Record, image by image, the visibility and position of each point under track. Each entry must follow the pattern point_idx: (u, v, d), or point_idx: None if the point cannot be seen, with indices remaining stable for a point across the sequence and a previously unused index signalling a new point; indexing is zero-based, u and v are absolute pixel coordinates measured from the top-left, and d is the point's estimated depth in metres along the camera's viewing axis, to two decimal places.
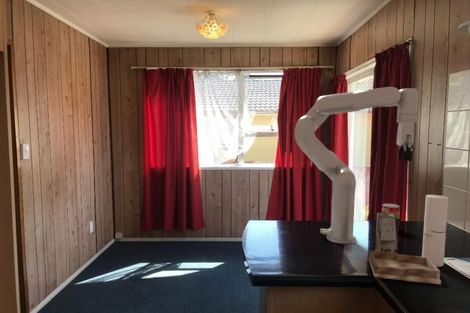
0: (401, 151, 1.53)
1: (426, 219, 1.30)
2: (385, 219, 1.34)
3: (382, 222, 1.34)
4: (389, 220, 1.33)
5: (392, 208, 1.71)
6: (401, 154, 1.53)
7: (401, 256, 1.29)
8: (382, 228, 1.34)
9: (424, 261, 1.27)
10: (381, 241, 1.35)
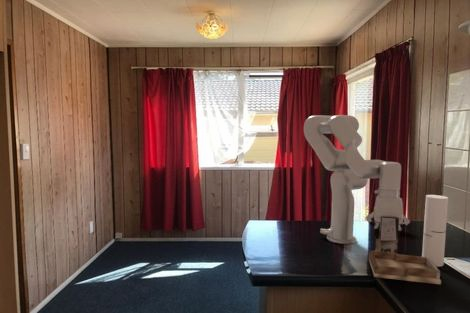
0: None
1: (426, 219, 1.30)
2: (385, 219, 1.34)
3: (382, 222, 1.34)
4: (389, 220, 1.33)
5: None
6: None
7: (401, 256, 1.29)
8: (382, 228, 1.34)
9: (424, 261, 1.27)
10: (381, 241, 1.35)
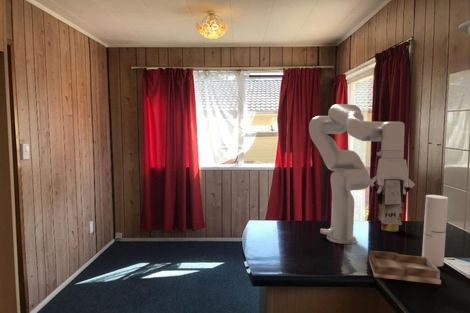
0: None
1: (426, 219, 1.30)
2: (389, 181, 1.26)
3: (386, 185, 1.26)
4: (393, 182, 1.25)
5: None
6: None
7: (401, 256, 1.29)
8: (386, 191, 1.26)
9: (424, 261, 1.27)
10: (385, 205, 1.26)
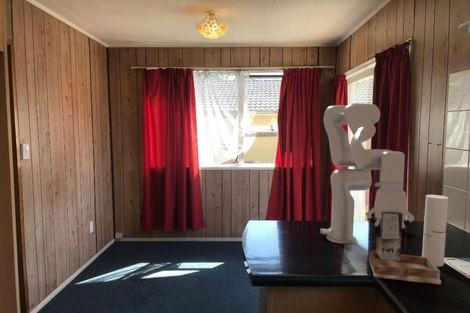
0: None
1: (426, 219, 1.30)
2: (387, 215, 1.19)
3: (383, 218, 1.20)
4: (391, 216, 1.19)
5: None
6: None
7: (401, 256, 1.29)
8: (383, 225, 1.20)
9: (424, 261, 1.27)
10: (382, 240, 1.20)
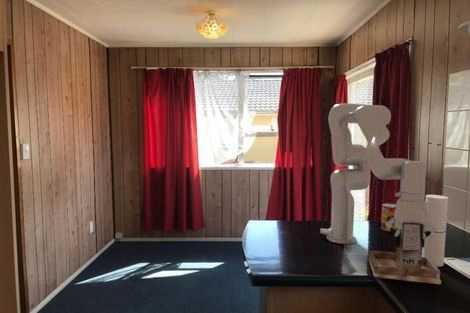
0: None
1: None
2: (408, 226, 1.18)
3: (404, 229, 1.18)
4: (412, 227, 1.18)
5: (392, 208, 1.71)
6: None
7: None
8: (404, 236, 1.18)
9: (424, 261, 1.27)
10: (403, 250, 1.19)
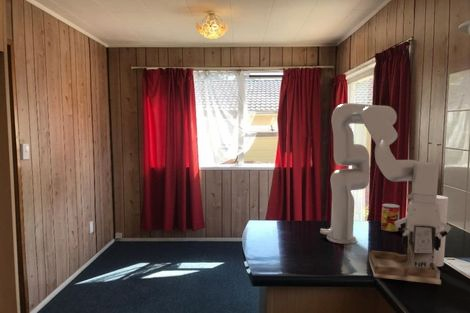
0: None
1: None
2: (420, 229, 1.17)
3: (416, 232, 1.18)
4: (424, 230, 1.17)
5: (392, 208, 1.71)
6: None
7: (401, 256, 1.29)
8: (416, 239, 1.18)
9: None
10: (415, 254, 1.18)
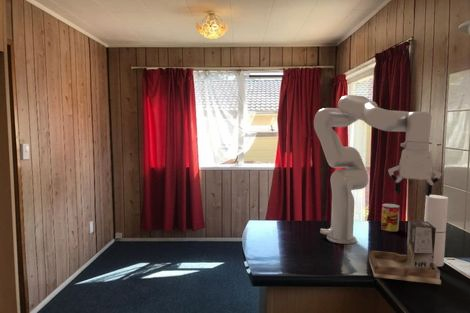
0: None
1: (426, 219, 1.30)
2: (420, 229, 1.17)
3: (416, 232, 1.18)
4: (424, 230, 1.17)
5: (392, 208, 1.71)
6: None
7: (401, 256, 1.29)
8: (416, 239, 1.18)
9: None
10: (415, 254, 1.18)
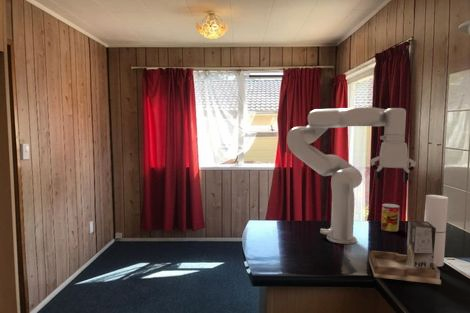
0: (380, 173, 1.43)
1: (426, 219, 1.30)
2: (420, 229, 1.17)
3: (416, 232, 1.18)
4: (424, 230, 1.17)
5: (392, 208, 1.71)
6: None
7: (401, 256, 1.29)
8: (416, 239, 1.18)
9: None
10: (415, 254, 1.18)
